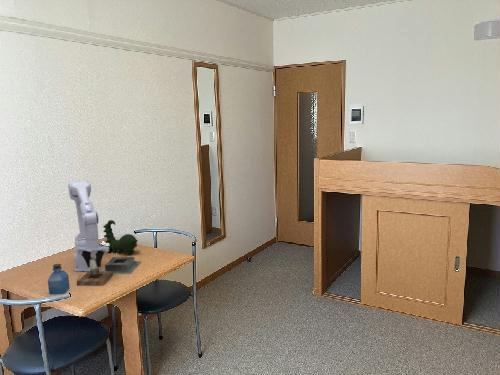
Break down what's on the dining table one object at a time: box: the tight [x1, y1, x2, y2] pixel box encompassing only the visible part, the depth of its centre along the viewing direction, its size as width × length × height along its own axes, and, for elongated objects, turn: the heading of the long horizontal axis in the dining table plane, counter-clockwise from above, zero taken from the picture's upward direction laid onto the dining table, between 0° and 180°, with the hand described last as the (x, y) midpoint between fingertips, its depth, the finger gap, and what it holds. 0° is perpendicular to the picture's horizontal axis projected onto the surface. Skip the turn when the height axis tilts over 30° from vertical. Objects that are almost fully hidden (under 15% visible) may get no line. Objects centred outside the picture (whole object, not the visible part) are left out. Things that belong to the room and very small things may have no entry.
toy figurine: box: [102, 219, 138, 256], centre depth 230 cm, size 9×19×25 cm
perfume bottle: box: [47, 263, 70, 295], centre depth 180 cm, size 6×6×12 cm
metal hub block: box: [100, 256, 142, 275], centre depth 207 cm, size 16×16×4 cm
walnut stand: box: [76, 270, 114, 286], centre depth 192 cm, size 12×12×2 cm
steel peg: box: [89, 256, 100, 274], centre depth 191 cm, size 4×4×7 cm
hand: (94, 266), depth 191 cm, fingers closed on steel peg, 4 cm apart
